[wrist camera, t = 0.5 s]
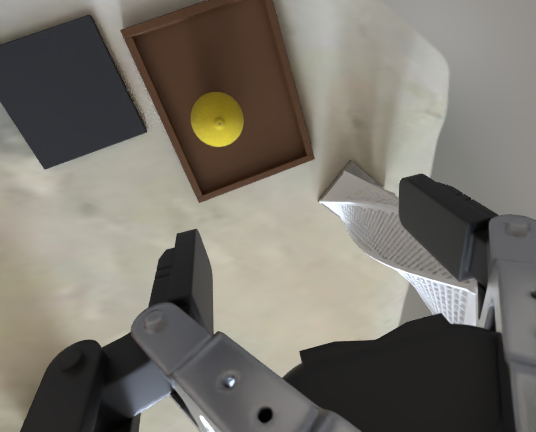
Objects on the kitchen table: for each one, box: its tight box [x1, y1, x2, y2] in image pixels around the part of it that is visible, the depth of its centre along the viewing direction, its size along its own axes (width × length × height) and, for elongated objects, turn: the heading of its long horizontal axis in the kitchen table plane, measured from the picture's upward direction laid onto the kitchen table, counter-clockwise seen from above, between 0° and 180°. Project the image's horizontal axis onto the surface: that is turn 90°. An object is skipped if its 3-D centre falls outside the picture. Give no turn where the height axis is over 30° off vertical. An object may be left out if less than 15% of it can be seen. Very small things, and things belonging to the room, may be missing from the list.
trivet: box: [0, 15, 147, 169], centre depth 34 cm, size 12×12×1 cm
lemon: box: [191, 92, 244, 147], centre depth 34 cm, size 6×6×8 cm
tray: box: [121, 0, 315, 203], centre depth 37 cm, size 20×16×2 cm
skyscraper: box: [318, 160, 477, 326], centre depth 32 cm, size 8×8×28 cm
